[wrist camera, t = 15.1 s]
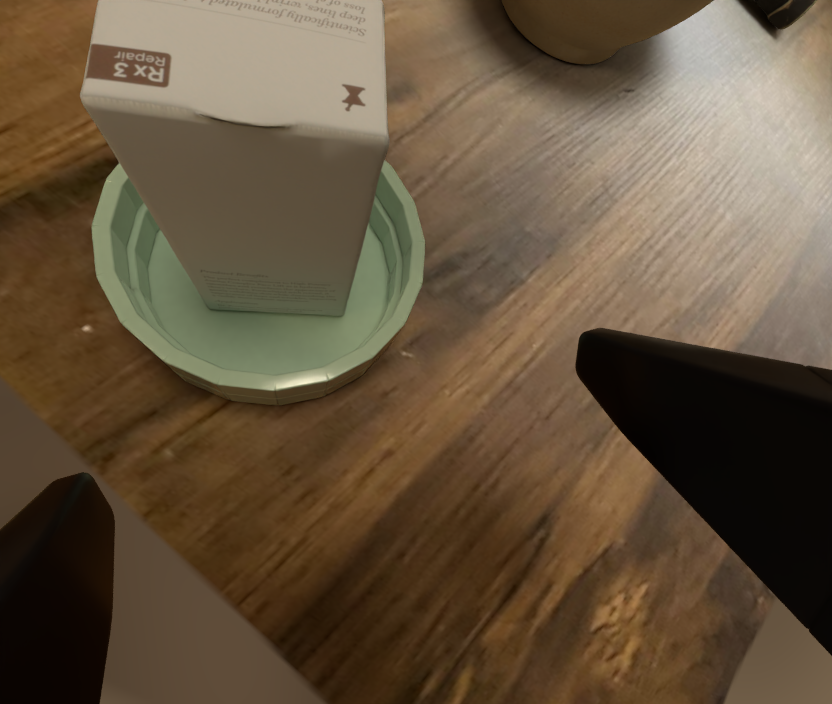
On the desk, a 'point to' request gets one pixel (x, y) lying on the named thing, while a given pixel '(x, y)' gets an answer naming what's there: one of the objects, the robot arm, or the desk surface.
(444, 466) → the desk surface
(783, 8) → the banded dark tube
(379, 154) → the cosmetic box
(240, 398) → the shallow bowl
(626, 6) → the planter bowl
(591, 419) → the desk surface
